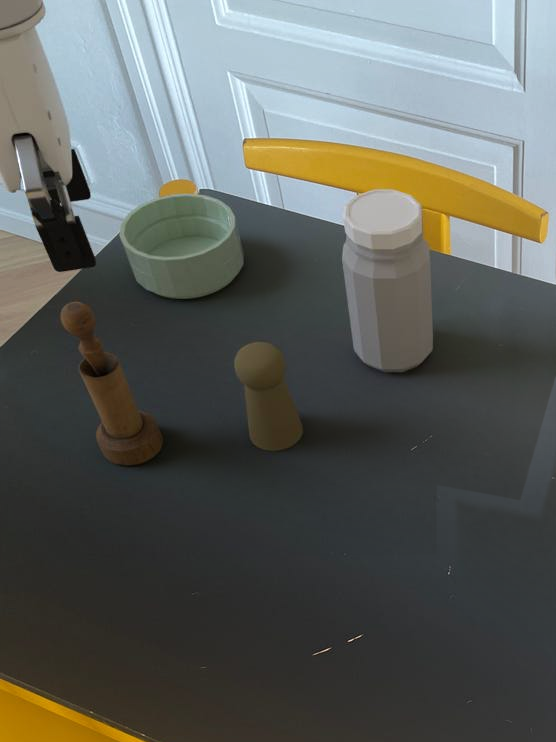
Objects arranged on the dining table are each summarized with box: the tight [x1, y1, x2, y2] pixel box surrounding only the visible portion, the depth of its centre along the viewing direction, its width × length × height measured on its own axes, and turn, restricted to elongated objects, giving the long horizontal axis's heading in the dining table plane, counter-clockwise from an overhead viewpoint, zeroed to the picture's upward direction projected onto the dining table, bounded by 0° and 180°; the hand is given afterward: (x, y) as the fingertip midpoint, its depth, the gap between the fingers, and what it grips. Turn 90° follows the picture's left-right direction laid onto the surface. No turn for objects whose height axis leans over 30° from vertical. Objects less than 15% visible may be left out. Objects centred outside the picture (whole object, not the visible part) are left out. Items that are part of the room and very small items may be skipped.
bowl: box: [119, 193, 245, 300], centre depth 114 cm, size 14×14×6 cm
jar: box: [341, 189, 434, 373], centre depth 100 cm, size 10×10×18 cm
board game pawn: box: [233, 341, 304, 452], centre depth 96 cm, size 6×6×11 cm
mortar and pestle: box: [60, 301, 164, 466], centre depth 91 cm, size 7×6×18 cm
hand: (74, 232), depth 73 cm, fingers open, 9 cm apart
